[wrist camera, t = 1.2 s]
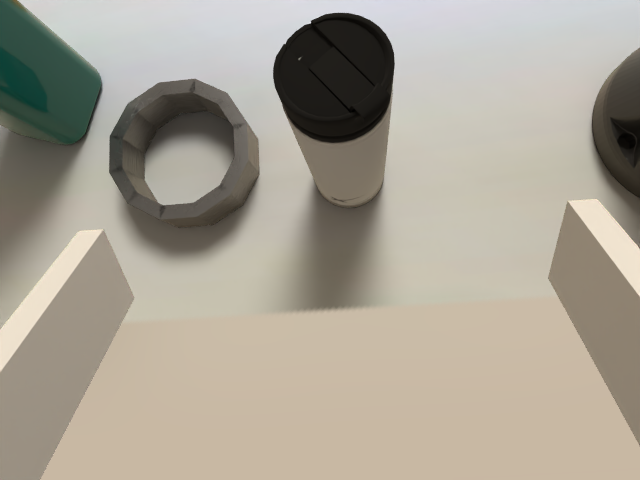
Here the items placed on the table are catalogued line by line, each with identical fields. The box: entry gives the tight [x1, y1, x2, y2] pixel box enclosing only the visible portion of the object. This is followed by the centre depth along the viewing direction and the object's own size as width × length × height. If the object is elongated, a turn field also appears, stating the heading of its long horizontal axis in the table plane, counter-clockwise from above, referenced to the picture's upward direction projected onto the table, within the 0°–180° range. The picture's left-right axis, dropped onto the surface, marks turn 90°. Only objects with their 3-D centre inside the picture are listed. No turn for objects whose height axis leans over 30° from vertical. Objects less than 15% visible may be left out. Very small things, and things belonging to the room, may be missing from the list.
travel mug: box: [273, 13, 395, 208], centre depth 32 cm, size 6×7×20 cm
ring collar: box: [109, 79, 259, 228], centre depth 42 cm, size 12×12×4 cm
